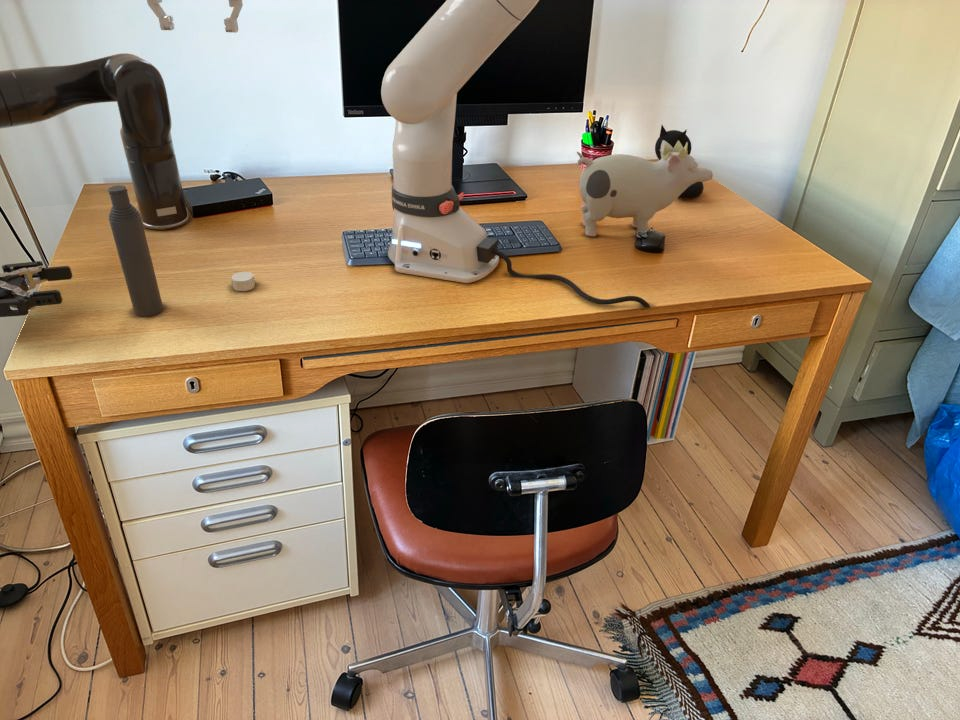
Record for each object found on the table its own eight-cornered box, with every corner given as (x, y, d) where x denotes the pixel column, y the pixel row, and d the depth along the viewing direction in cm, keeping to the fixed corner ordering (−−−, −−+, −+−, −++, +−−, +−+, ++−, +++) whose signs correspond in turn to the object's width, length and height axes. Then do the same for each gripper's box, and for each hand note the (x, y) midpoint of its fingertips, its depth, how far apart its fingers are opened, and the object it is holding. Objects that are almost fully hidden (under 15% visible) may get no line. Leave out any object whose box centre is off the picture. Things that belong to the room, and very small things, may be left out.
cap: (238, 293, 128) (237, 283, 127) (229, 285, 131) (227, 275, 129) (258, 287, 130) (257, 277, 129) (249, 279, 133) (247, 269, 132)
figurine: (703, 243, 153) (724, 151, 141) (570, 238, 152) (580, 145, 141) (692, 224, 161) (711, 135, 150) (566, 219, 161) (576, 130, 150)
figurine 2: (633, 187, 180) (643, 126, 171) (662, 174, 188) (673, 116, 180) (689, 205, 171) (702, 142, 162) (717, 191, 179) (731, 131, 171)
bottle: (130, 308, 123) (97, 186, 110) (157, 300, 125) (128, 180, 113) (139, 319, 120) (105, 195, 108) (167, 311, 122) (137, 189, 110)
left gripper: (-73, 294, 105) (50, 283, 108) (-43, 253, 116) (67, 244, 120) (-53, 337, 109) (64, 326, 113) (-26, 293, 120) (80, 284, 124)
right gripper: (263, -77, 102) (275, 29, 109) (116, -83, 101) (139, 24, 108) (252, -74, 96) (266, 37, 104) (97, -80, 95) (123, 32, 103)
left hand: (66, 284), depth 116 cm, fingers open, 8 cm apart
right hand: (200, 30), depth 106 cm, fingers open, 8 cm apart
